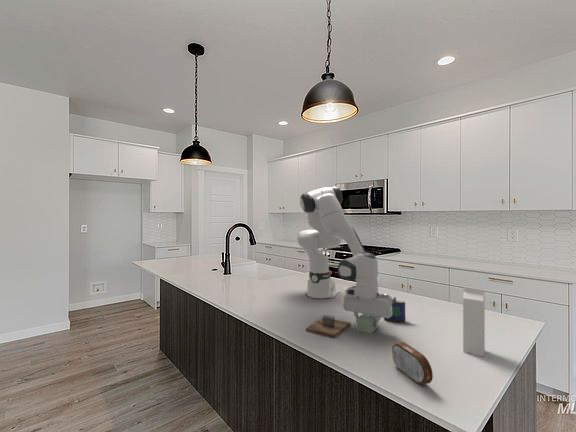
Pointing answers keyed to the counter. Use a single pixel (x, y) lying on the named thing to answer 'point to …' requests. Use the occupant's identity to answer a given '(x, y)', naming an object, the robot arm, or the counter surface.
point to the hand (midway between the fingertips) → (367, 324)
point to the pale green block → (366, 323)
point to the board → (328, 328)
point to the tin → (412, 363)
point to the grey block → (328, 321)
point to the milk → (474, 321)
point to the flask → (397, 311)
